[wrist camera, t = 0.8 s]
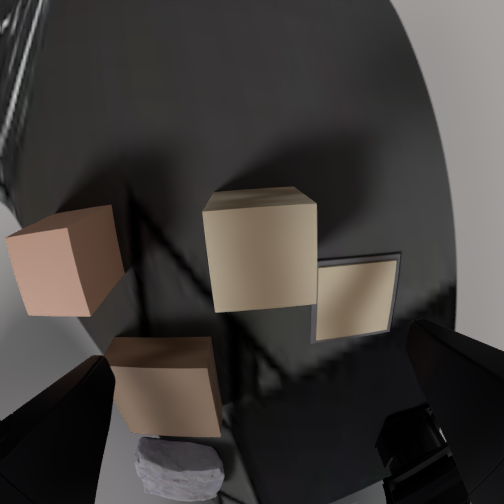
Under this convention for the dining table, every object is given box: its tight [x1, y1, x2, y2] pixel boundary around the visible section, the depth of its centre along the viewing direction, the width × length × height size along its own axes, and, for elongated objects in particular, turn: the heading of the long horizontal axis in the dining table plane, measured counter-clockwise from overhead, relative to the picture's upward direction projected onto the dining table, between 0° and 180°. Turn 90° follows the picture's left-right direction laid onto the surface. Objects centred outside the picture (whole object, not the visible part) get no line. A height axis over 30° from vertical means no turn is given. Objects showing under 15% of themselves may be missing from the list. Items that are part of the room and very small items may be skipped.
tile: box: [310, 253, 401, 344], centre depth 21 cm, size 7×7×1 cm
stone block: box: [134, 437, 225, 502], centre depth 28 cm, size 12×5×10 cm
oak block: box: [203, 186, 317, 312], centre depth 17 cm, size 5×5×6 cm
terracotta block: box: [5, 205, 125, 316], centre depth 17 cm, size 5×5×6 cm
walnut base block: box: [104, 337, 222, 437], centre depth 22 cm, size 8×8×4 cm
